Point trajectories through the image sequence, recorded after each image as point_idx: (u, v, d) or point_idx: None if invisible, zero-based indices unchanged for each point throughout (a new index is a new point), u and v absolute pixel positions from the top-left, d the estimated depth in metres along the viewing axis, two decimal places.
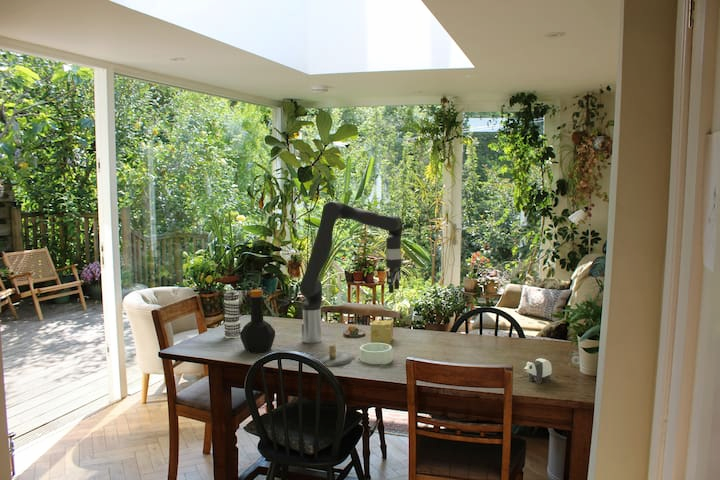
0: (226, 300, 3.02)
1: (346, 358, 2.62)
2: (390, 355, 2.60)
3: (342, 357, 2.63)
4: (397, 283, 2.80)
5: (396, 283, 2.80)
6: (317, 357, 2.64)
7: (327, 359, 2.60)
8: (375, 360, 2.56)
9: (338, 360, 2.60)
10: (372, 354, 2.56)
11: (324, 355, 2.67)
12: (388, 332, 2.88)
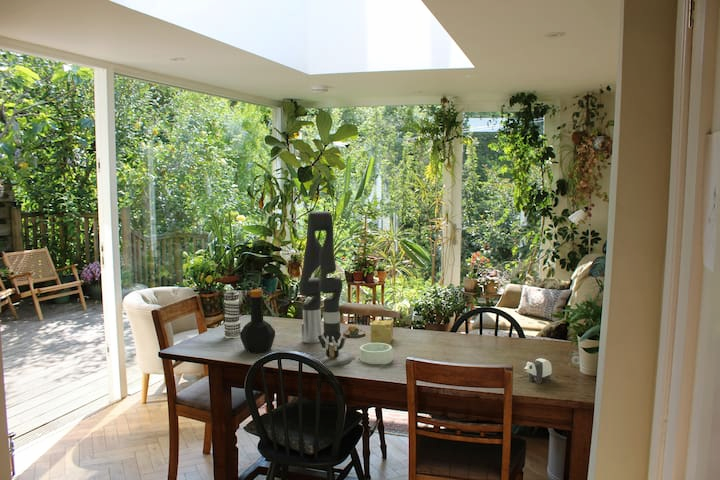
0: (226, 300, 3.02)
1: (346, 358, 2.62)
2: (390, 355, 2.60)
3: (342, 357, 2.63)
4: None
5: None
6: (317, 357, 2.64)
7: (327, 359, 2.60)
8: (375, 360, 2.56)
9: (338, 360, 2.60)
10: (372, 354, 2.56)
11: (324, 355, 2.67)
12: (388, 332, 2.88)
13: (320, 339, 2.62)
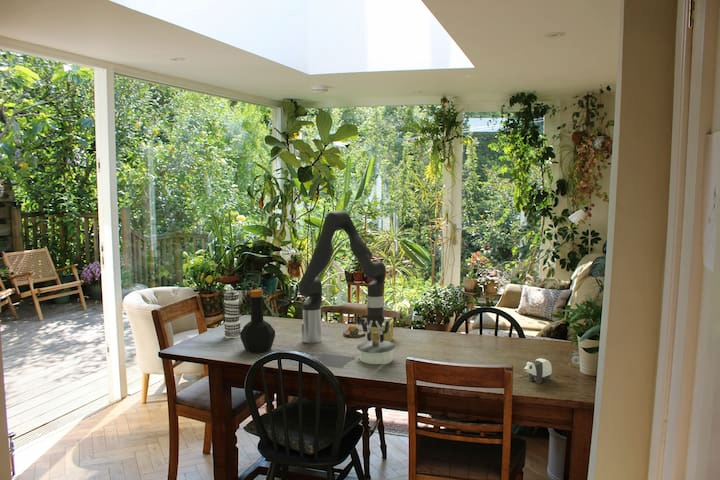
0: (226, 300, 3.02)
1: (389, 345, 2.63)
2: (390, 355, 2.60)
3: (385, 344, 2.64)
4: (370, 334, 2.64)
5: (370, 334, 2.64)
6: (360, 344, 2.65)
7: (370, 346, 2.61)
8: (375, 360, 2.56)
9: (382, 346, 2.61)
10: (372, 354, 2.56)
11: (366, 342, 2.68)
12: (388, 332, 2.88)
13: (362, 323, 2.63)
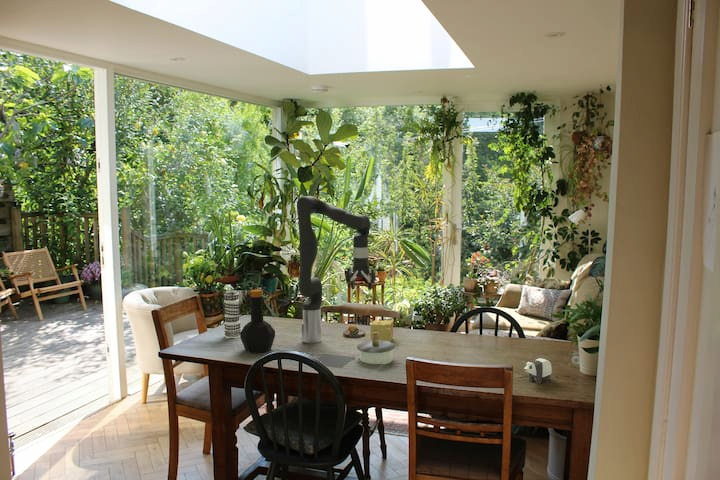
0: (226, 300, 3.02)
1: (389, 345, 2.63)
2: (390, 355, 2.60)
3: (385, 344, 2.64)
4: (354, 282, 2.79)
5: (353, 283, 2.78)
6: (360, 344, 2.65)
7: (370, 346, 2.61)
8: (375, 360, 2.56)
9: (382, 346, 2.61)
10: (372, 354, 2.56)
11: (366, 342, 2.68)
12: (388, 332, 2.88)
13: (348, 271, 2.78)
